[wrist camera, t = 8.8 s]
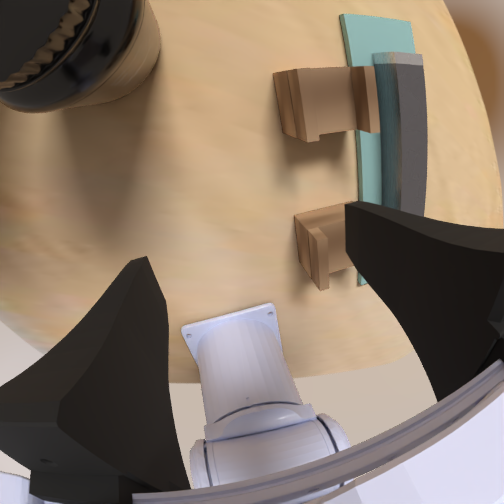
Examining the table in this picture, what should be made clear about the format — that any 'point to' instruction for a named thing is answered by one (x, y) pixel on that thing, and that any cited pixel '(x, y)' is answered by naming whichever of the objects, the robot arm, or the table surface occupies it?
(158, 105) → the table surface
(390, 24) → the mat
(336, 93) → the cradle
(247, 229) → the table surface
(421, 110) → the rail
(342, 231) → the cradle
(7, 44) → the supplement bottle
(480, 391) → the robot arm
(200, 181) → the table surface
